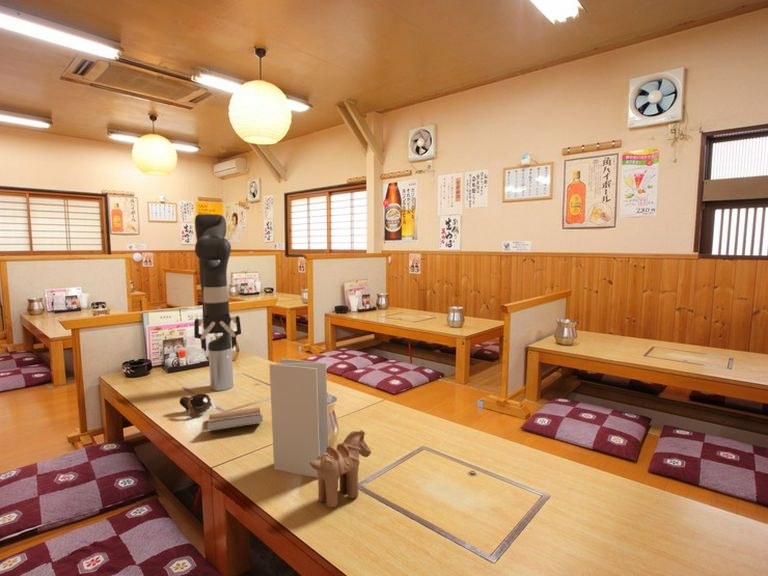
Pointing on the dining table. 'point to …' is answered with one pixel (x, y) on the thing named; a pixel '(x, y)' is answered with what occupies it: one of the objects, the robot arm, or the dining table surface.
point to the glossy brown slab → (234, 415)
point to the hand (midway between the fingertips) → (219, 348)
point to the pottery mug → (196, 404)
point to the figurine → (340, 468)
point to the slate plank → (234, 422)
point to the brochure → (298, 414)
